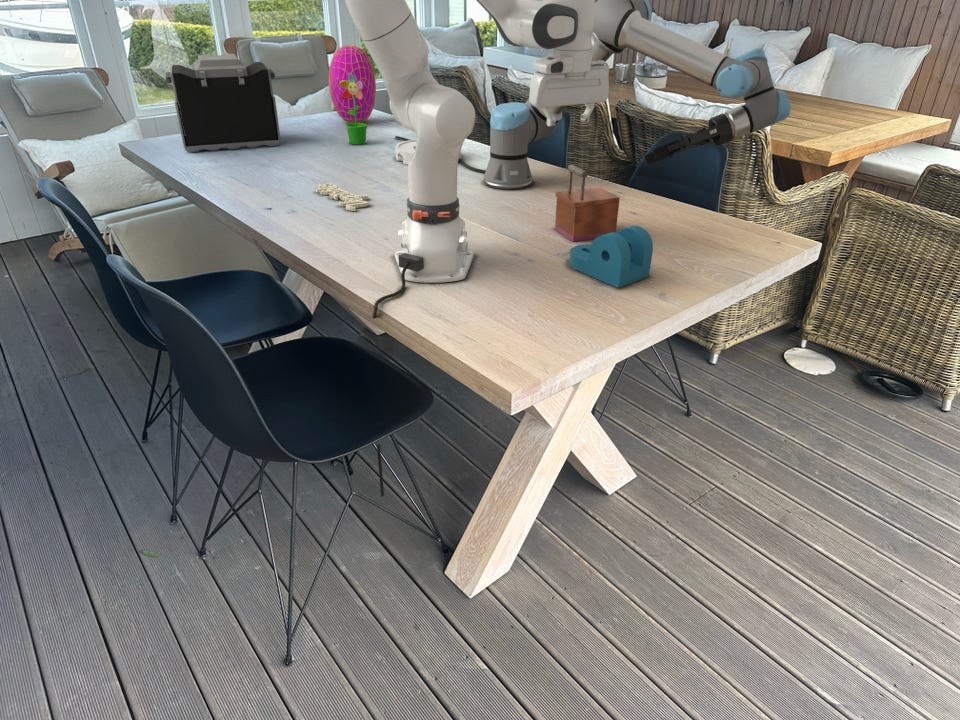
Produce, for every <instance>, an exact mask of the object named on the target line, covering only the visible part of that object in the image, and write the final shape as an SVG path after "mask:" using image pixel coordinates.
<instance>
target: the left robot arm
mask: <svg viewBox="0 0 960 720" xmlns="http://www.w3.org/2000/svg"><path fill="white" fill-rule="evenodd" d="M475 1H476V2H477V3H478V4H479V5H480V7H482V8H483V9H484V10H485V12H486V13H488V15H489V16H490V17H491V19H492V20H493V21H494V23H495V26H496V28H497V31H498V33H499V35H500V37H501V38H502V39H503V41H504V42H505V43H507V44H508V45H509V46H512V47H525V48H531V49H537V50H538V49H539V50H543V51H544V50H545V51H547V50H553V52H552V53H550V54H548V55H545V56H544V57H541V58H539V59H537V60H535V61H533V65H532V67H533V68H532V69H533V71H535V72H534V73H533V74H532V76H531V78H530V79H531V80H530V86H529V95H528V99H529V101H530V103H531V105H532V106H534V107H537V108H543V111H544V113H545V116H546V118H547V126H555V125H556V123H555V122H556V118H553V117H552V115H551V112H552V110H553V107H555V106H565V105H566V106H575V105H584V107H585V109H584V112H583V113H580V119H579V121H580V123H583V124H587V123H590V118H591V117H590V116H591V114H592V112H593V111H594V109H595V105H596V104H597V103H606V102H607V101H608V99H609V96H610V81H609V80H610V79H609V78H610V77H609V75H610V65H609V64H608V63H607V61H606V62H605V61H603V60H600V61H591V59H592V42H591V36H592V32H593V29H594V20H595V3H596V0H475ZM344 2H345V6H346V8H347V11H348V13H349V16H350V18H351V20H352V23H353V25H354V27H355V29H356V31H357V33H358V35H359V37H360V39H361V40H362V42H363V45H364V46H365V48H366V50H367V51H368V53H369V55H370V57H371V58H372V61H373V62H374V64H375V66H376V69H378V71H379V73H380V76H381V78H382V80H383V84H384V86H385V88H386V89H385V90H386V92H387V96H388V98H389V108H390V112H391V114H392V116H393V117H394V118H395V120H396V121H397V122H398V123H399V124H400V125H401V126H402V127H403V128H405V129H406V130H409V131H411V132H413V133H415V134H416V139H417V143H416V148H415V153H414V156H413V158H412V159H411V160H410V162H409V164H407V184H408V186H407V187H408V198H407V199H406V211H407V213H406V214H407V217H406V218H405V219H404V220H403V221H402V223H401V230H399V231H398V235H402V242H401V244H400V247H401V249H400V250H397V251H395V252H394V259H395V262H396V264H397V267H398V269H399V272H400V274H401V275H400V276H401V277H400V278H401V287H400V289H398V290H397V291H395V292H393V293H389V294H386V295H384V296H381V297H380V298H378V299H377V300H376V301H375V302H374V305H373V312H372V316H371V318H372V319H373V320H375V319H376V318H377V313H378V309H379V304H381V303H382V302H383V301H385V300H387V299H391V298H394V297H397V296H399V295H400V294H402V293H403V292H404V291H405V288H406V281H408V282H414V283H431V284H433V283H435V284H437V283H451V282H457V281H461V280H464V279H466V277H467V274H468V273H469V269H470V267H471V265H472V262H473V260H474V257H475V251H473V250H471V249H468V245H469V243H468V242H467V241H466V238H467V236H468V232H467V231H466V221H465V220H464V219H463V218H461V216H460V208H461V207H460V206H461V205H460V198H459V197H458V167H459V166H458V165H459V161H458V160H459V155H460V151H461V152H462V147H463V144H464V142H465V140H466V139H467V138H468V137H469V136H470V135H471V133H472V132H473V130H474V127H475V123H476V111H475V107H474V105H473V104H472V102H471V101H470V100H469V99H468V98H467V97H466V96H465V95H464V94H462V92H460V91H458V90H457V89H455V88H452V87H449V86H446V85H443V84H440V83H439V82H438V81H437V80H436V79H435V77H434V75H433V73H432V70H431V67H430V63H429V58H428V56H429V50H430V49H429V45H428V43H427V41H426V38H425V37H424V35H423V33H422V31H421V29H420V27H419V25H418V23H417V20H416V19H415V17H414V15H413V13H412V10H411V9H410V7H409V5H408V3H407V1H406V0H344ZM597 65H599V66H597ZM381 452H382V451H381V443H378V444H376V453H377V462H378V463H377V465H378V475H379V487H380V497H384V496H385V490H384V476H383V465H382V464H383V463H382V453H381Z"/></svg>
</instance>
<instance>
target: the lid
mask: <svg viewBox="0 0 960 720" xmlns="http://www.w3.org/2000/svg"><path fill="white" fill-rule="evenodd" d="M567 171H569V172H568V181H567V182H568V183H567V190H563V191H555V194H554V195H555V197H556V198H557V197H558V198H559V199H561V200H563V201H564V202H566V203H568V204H569V205H571V206H573V207H580V206H588V205H596V204H603V203H611V202H619V203H620V200H621V197H620V196H617V195H616V194H614V193H612V192H610V191H608V190H607V189H604V188H602V187H600V186H595V187H588V188H585V187H586V186H585V185H586V178H588V175H589V174H588V172H587V171H586V170H584V169H583V168H580V167H578V166H576V165H574V164H569V165H568V166H567ZM574 175H577V177H580V178H581V179H580V180H581V182H580V188H579V189H573V177H574Z"/></svg>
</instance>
